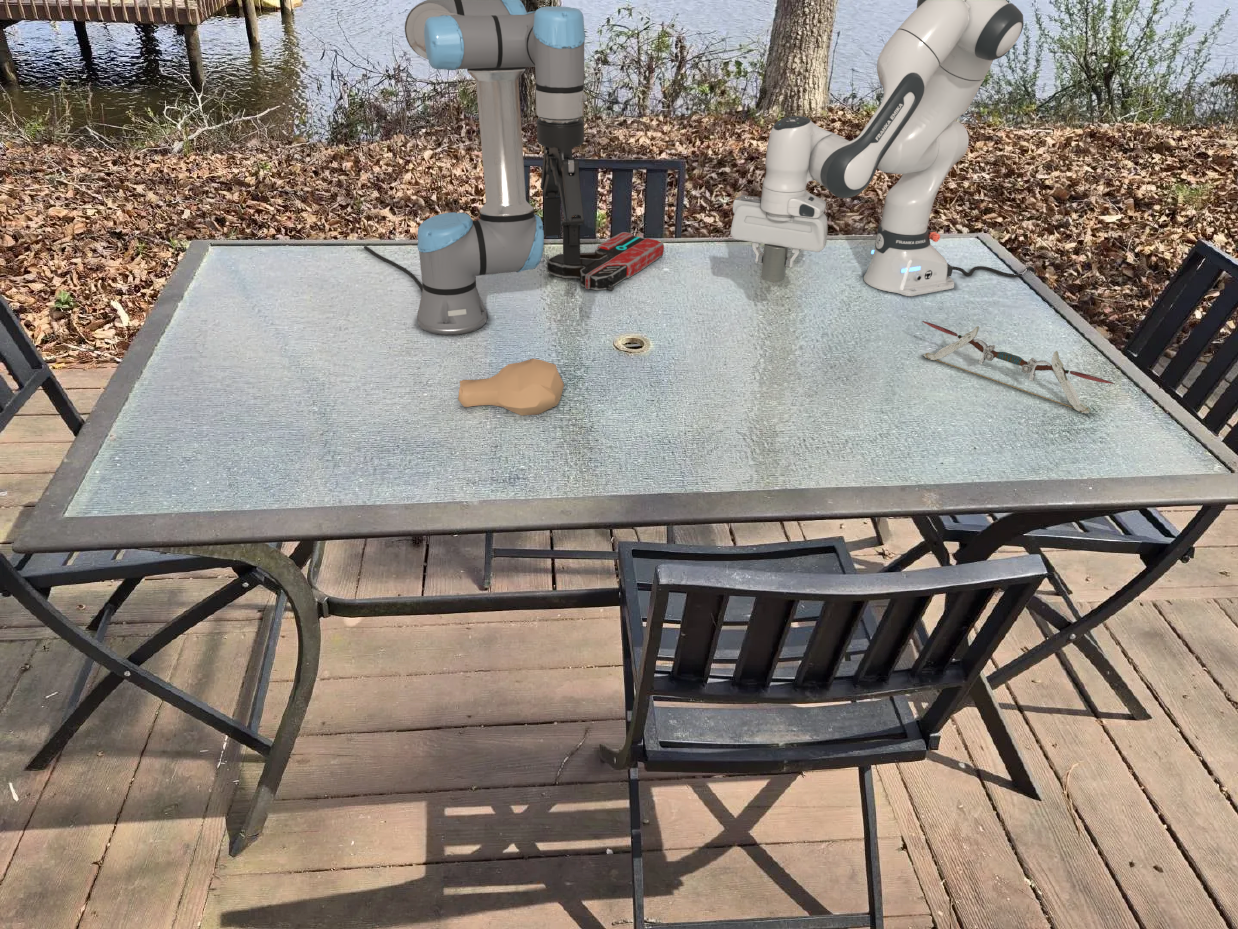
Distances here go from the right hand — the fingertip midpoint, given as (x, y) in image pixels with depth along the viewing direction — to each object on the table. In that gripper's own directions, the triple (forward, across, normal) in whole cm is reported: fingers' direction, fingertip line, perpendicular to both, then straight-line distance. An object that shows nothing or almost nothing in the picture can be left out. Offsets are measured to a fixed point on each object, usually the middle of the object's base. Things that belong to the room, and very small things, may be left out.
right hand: (774, 264), depth 189 cm
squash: (+15, -35, -55) cm, 67 cm away
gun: (+15, -47, +19) cm, 53 cm away
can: (+3, 0, 0) cm, 3 cm away
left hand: (-16, -26, -50) cm, 59 cm away
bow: (+16, +50, -4) cm, 53 cm away
